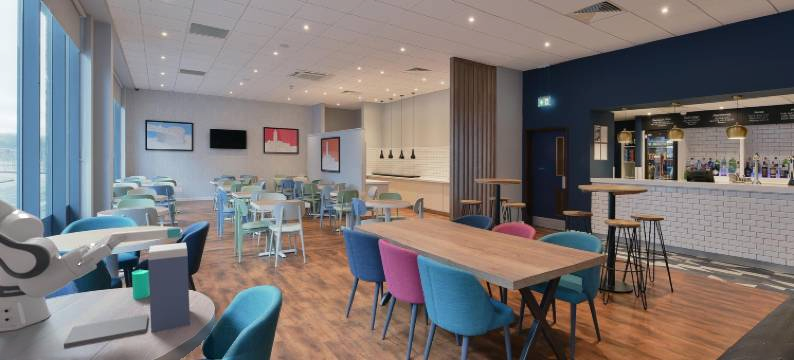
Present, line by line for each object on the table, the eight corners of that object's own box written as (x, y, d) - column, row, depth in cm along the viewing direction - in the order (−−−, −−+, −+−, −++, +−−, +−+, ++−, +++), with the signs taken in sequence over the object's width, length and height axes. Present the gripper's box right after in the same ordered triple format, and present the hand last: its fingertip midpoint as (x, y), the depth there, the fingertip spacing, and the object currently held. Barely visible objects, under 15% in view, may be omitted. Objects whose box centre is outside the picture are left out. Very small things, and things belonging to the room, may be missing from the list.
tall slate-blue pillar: (151, 332, 134) (148, 255, 132) (153, 315, 148) (150, 246, 146) (189, 325, 140) (187, 251, 138) (188, 309, 154) (185, 242, 152)
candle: (131, 296, 168) (129, 268, 167) (147, 292, 172) (146, 265, 172) (135, 300, 164) (133, 271, 163) (151, 296, 168) (150, 268, 167)
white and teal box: (111, 243, 133) (111, 234, 132) (113, 241, 136) (112, 232, 136) (180, 237, 143) (180, 228, 142) (180, 235, 146) (180, 227, 146)
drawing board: (63, 347, 124) (63, 343, 124) (73, 330, 136) (73, 326, 136) (146, 332, 134) (145, 328, 134) (148, 317, 146) (147, 314, 146)
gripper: (69, 260, 120) (116, 233, 126) (81, 246, 138) (122, 223, 144) (83, 276, 122) (129, 249, 128) (93, 260, 140) (133, 237, 146)
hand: (125, 235), depth 136 cm, fingers closed on white and teal box, 3 cm apart
